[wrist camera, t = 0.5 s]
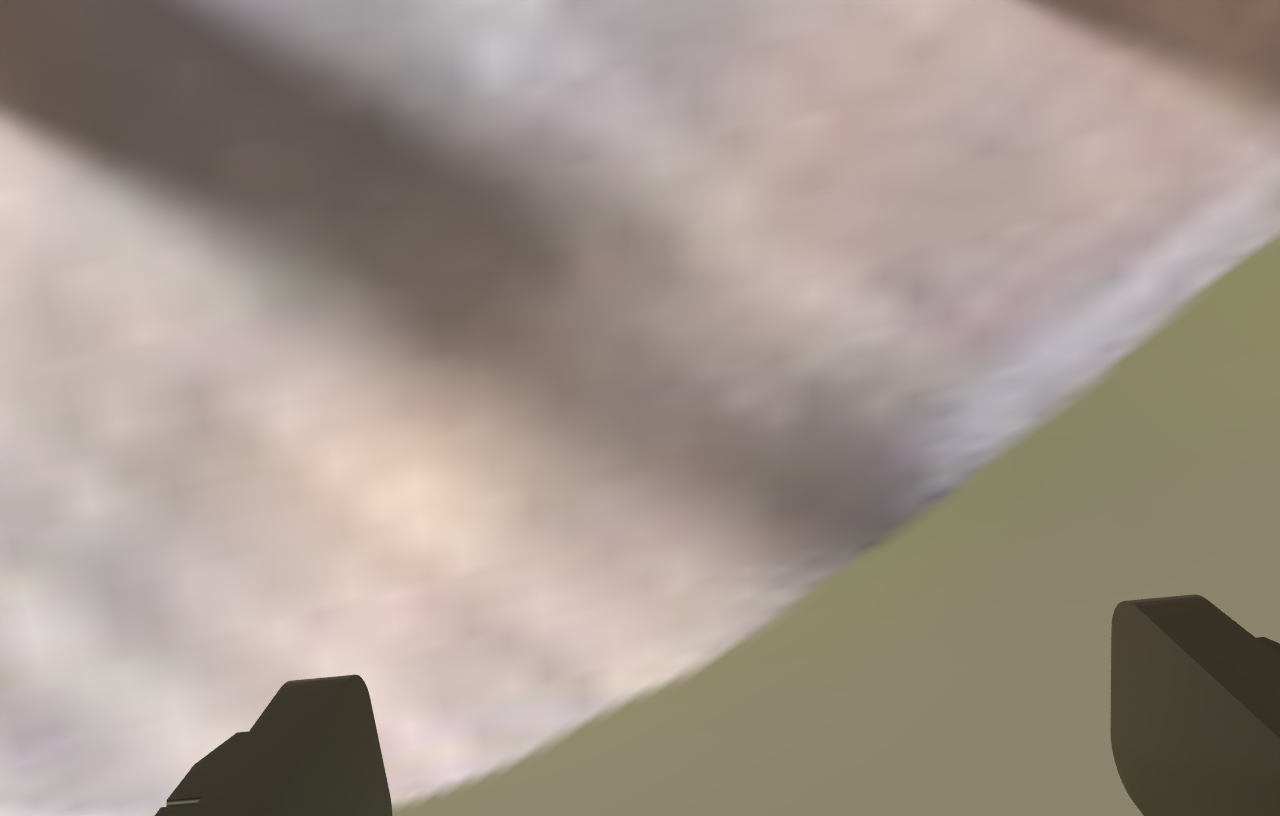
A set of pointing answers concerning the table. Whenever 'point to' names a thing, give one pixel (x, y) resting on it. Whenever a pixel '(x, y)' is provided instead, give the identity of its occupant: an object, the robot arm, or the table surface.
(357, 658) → the table surface
